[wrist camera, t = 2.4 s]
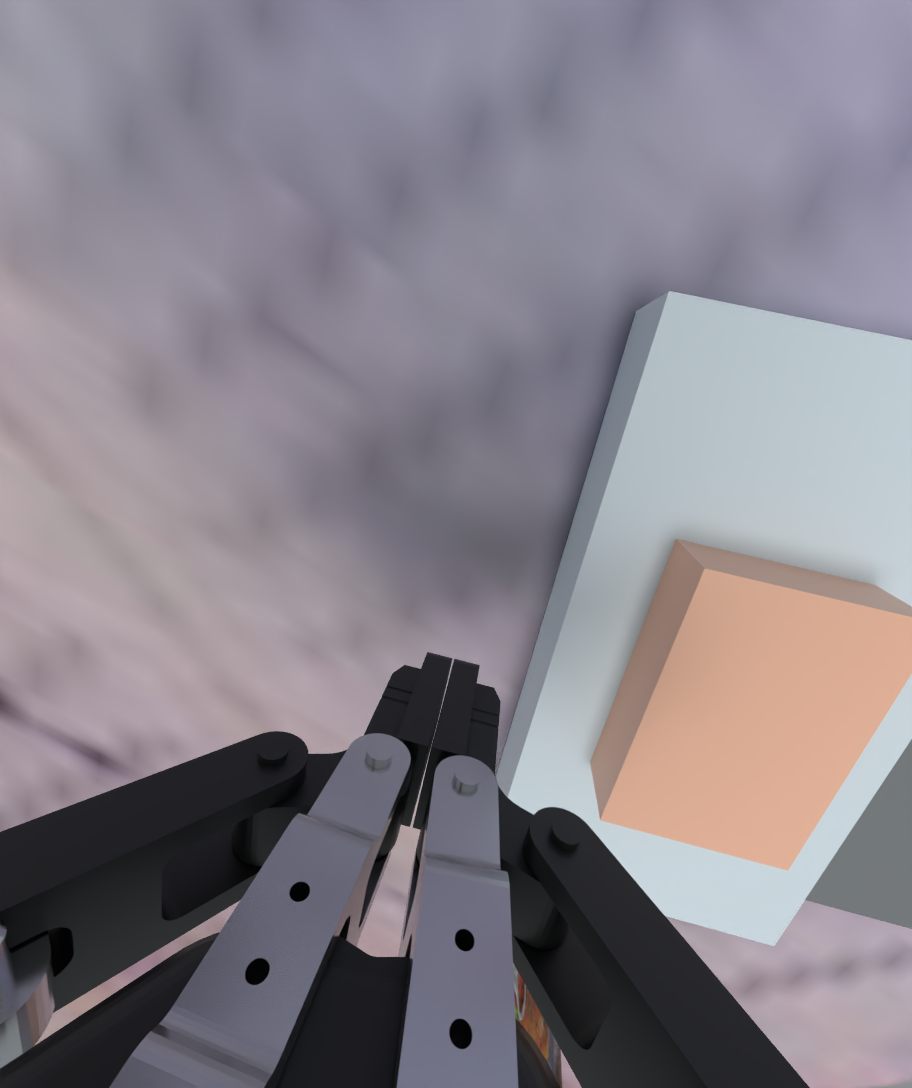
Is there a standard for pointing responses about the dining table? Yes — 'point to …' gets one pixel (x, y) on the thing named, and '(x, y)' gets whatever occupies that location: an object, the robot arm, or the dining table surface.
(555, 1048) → the tin
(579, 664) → the plate
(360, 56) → the dining table surface
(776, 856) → the peach rectangular block
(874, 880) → the mat
